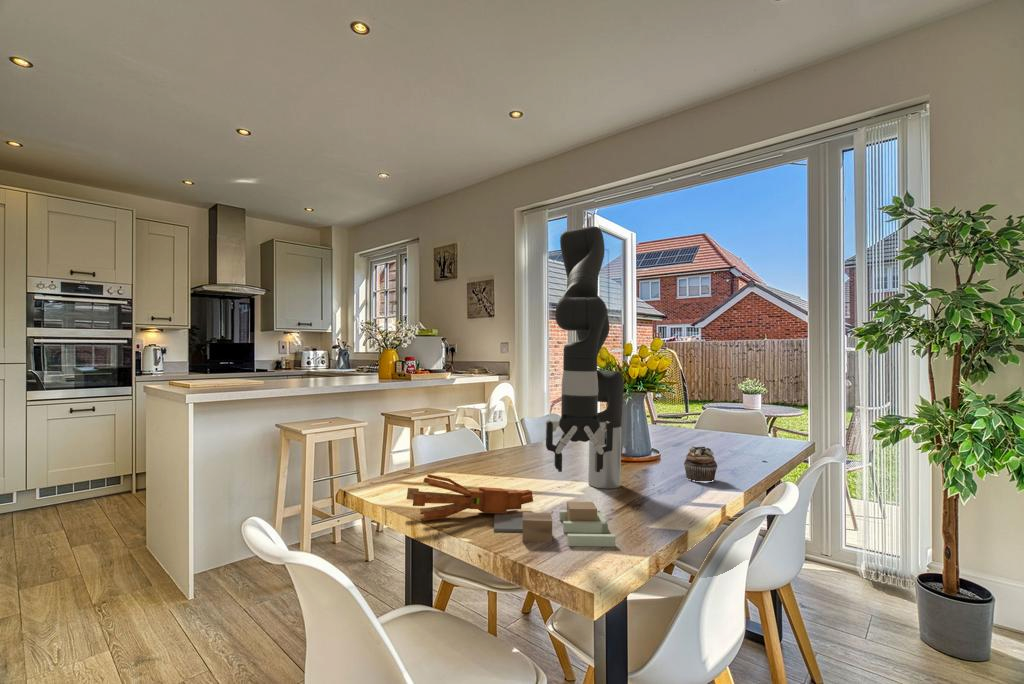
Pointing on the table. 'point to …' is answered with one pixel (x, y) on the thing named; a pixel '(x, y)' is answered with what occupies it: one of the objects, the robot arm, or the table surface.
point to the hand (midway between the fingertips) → (578, 471)
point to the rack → (585, 525)
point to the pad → (508, 523)
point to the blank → (537, 527)
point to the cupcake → (700, 464)
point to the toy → (465, 499)
